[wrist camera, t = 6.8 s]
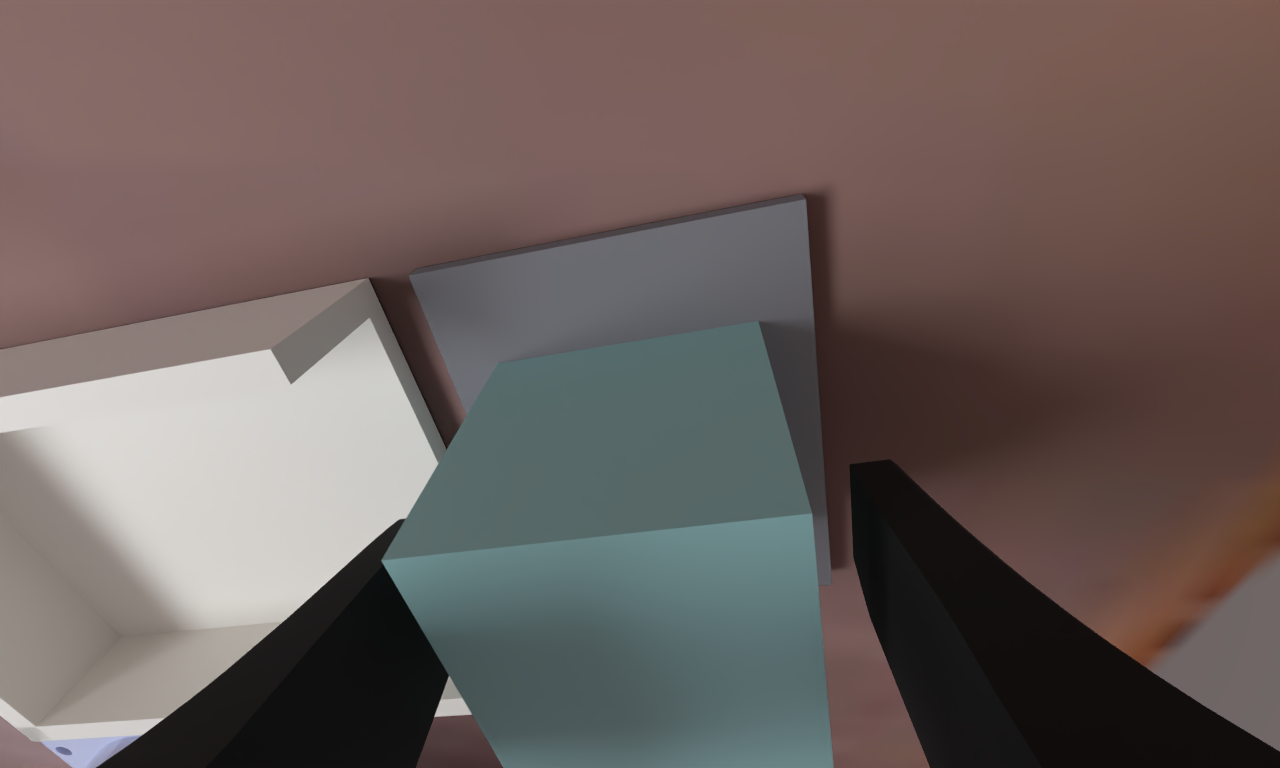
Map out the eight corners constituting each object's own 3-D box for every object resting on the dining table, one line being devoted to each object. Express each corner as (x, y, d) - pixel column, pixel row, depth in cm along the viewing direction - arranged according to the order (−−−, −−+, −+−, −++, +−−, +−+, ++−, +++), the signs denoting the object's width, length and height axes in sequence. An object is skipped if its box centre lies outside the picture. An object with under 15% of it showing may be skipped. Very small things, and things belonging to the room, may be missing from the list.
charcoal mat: (828, 571, 14) (832, 584, 14) (551, 597, 15) (548, 610, 15) (801, 193, 10) (806, 199, 9) (417, 268, 11) (408, 275, 10)
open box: (515, 600, 15) (481, 713, 13) (131, 636, 17) (33, 741, 14) (368, 277, 11) (270, 349, 8) (-122, 373, 13) (-328, 455, 10)
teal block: (782, 525, 13) (833, 768, 8) (566, 549, 14) (511, 782, 9) (758, 321, 10) (812, 513, 6) (497, 363, 11) (381, 560, 7)
